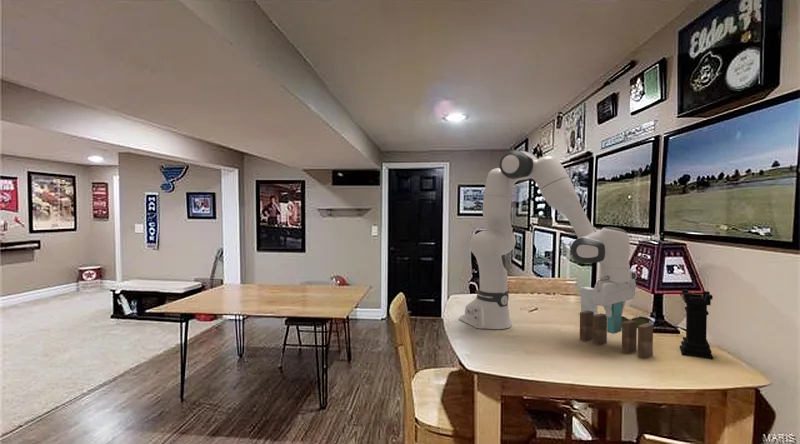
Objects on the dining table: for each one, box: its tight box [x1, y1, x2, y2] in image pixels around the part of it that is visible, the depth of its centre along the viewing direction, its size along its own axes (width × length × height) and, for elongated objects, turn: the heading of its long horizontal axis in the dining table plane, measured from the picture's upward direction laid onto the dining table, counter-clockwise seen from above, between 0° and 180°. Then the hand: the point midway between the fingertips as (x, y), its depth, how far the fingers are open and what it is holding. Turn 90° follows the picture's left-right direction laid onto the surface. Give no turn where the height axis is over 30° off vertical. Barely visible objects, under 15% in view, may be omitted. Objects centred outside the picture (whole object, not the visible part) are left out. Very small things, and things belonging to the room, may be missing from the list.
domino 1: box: [579, 310, 594, 342], centre depth 144 cm, size 2×5×10 cm, turn 123°
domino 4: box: [621, 320, 638, 355], centre depth 132 cm, size 2×5×10 cm, turn 123°
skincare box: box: [579, 286, 599, 315], centre depth 176 cm, size 6×4×12 cm
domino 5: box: [637, 323, 654, 360], centre depth 127 cm, size 2×5×10 cm, turn 123°
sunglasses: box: [622, 316, 651, 328], centre depth 164 cm, size 14×15×5 cm
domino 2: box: [592, 313, 608, 346], centre depth 140 cm, size 2×5×10 cm, turn 123°
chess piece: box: [679, 289, 714, 360], centre depth 129 cm, size 8×8×20 cm
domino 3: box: [607, 302, 623, 335], centre depth 136 cm, size 2×5×10 cm, turn 123°
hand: (614, 315), depth 136 cm, fingers closed on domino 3, 5 cm apart
